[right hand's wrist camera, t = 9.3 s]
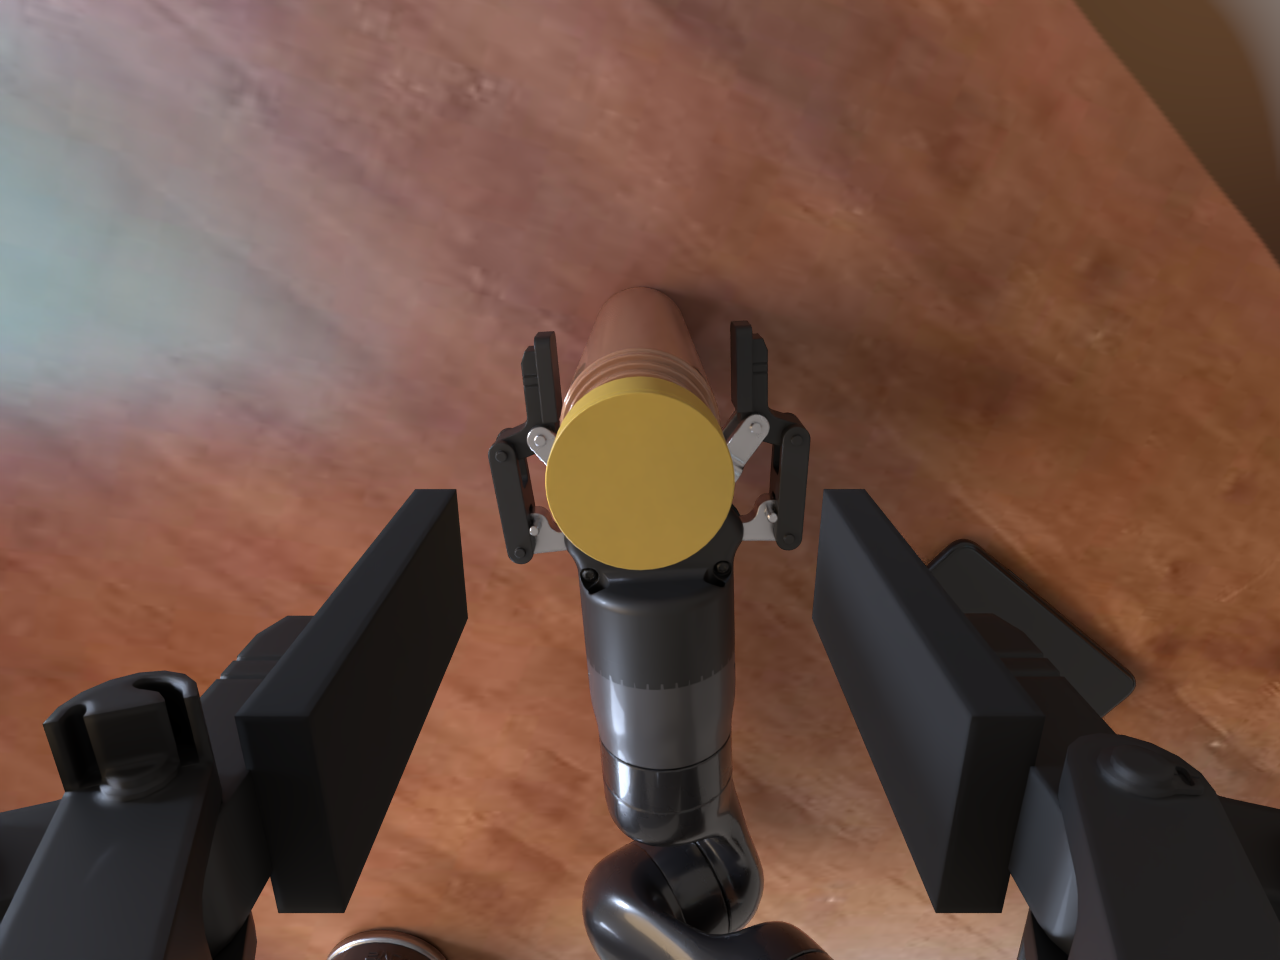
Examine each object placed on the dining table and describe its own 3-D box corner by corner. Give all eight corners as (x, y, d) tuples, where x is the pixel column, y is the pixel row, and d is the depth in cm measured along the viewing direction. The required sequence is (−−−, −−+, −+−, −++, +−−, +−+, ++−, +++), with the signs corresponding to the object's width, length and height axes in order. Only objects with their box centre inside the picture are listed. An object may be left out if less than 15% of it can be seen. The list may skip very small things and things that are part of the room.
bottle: (624, 395, 40) (607, 599, 19) (576, 317, 39) (502, 446, 18) (702, 349, 39) (773, 511, 18) (656, 269, 38) (677, 343, 17)
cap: (610, 568, 20) (608, 600, 19) (519, 432, 19) (508, 453, 17) (757, 489, 20) (768, 516, 18) (672, 342, 18) (675, 355, 17)
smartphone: (1137, 676, 46) (960, 528, 43) (1146, 685, 45) (966, 535, 42) (1038, 756, 48) (862, 622, 45) (1046, 766, 47) (867, 630, 44)
